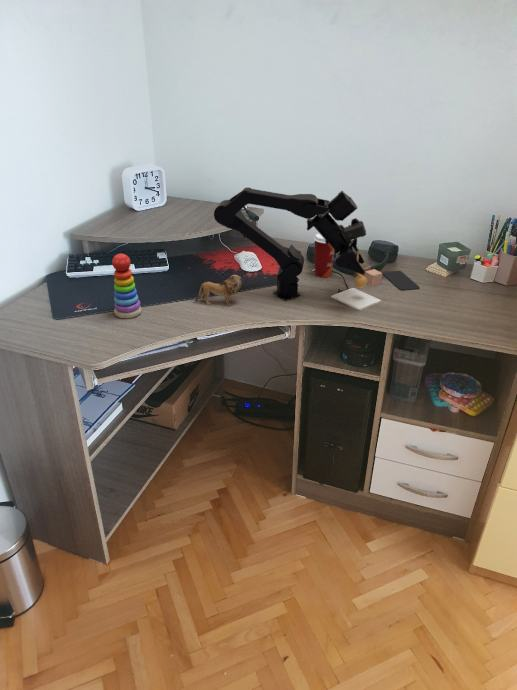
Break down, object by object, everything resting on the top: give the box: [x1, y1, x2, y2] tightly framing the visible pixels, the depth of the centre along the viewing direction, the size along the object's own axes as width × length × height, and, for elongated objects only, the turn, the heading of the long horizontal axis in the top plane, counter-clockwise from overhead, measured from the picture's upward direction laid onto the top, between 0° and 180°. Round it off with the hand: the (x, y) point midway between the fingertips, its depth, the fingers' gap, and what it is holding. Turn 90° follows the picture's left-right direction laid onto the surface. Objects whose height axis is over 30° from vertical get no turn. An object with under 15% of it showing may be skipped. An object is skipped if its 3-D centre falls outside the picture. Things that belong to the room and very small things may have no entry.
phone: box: [381, 270, 420, 292], centre depth 185 cm, size 7×1×15 cm
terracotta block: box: [365, 268, 383, 287], centre depth 183 cm, size 4×4×4 cm
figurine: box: [353, 250, 368, 289], centre depth 167 cm, size 8×6×12 cm
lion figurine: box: [194, 274, 243, 306], centre depth 168 cm, size 15×5×9 cm, turn 94°
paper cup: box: [313, 232, 335, 279], centre depth 186 cm, size 8×8×14 cm
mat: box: [330, 287, 382, 311], centre depth 172 cm, size 12×10×1 cm
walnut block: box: [353, 263, 372, 279], centre depth 187 cm, size 4×4×4 cm
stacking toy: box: [111, 253, 142, 319], centre depth 158 cm, size 8×8×19 cm
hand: (363, 268), depth 167 cm, fingers closed on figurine, 8 cm apart
